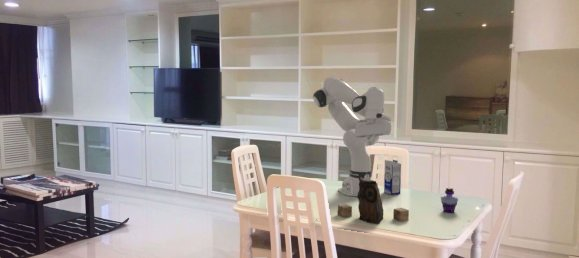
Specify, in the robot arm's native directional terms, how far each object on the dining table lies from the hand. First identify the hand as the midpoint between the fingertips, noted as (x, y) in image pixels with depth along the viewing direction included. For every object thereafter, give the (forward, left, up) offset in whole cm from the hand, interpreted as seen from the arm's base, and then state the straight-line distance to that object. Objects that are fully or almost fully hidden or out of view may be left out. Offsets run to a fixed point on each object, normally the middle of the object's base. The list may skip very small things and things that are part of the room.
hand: (370, 144), depth 227 cm
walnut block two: (+16, +6, -35) cm, 39 cm away
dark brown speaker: (+10, -6, -35) cm, 37 cm away
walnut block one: (-2, -14, -35) cm, 37 cm away
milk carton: (-27, +38, -35) cm, 59 cm away
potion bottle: (+17, +37, -35) cm, 54 cm away
